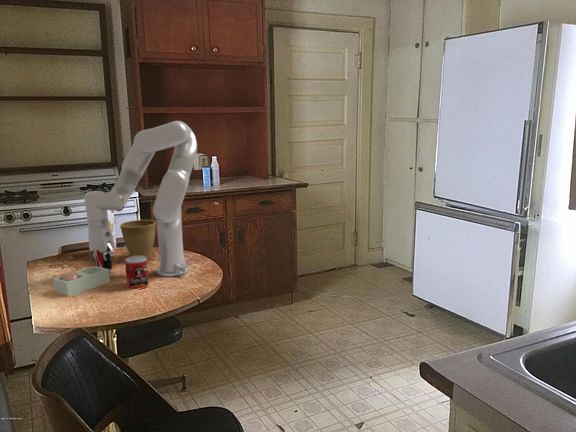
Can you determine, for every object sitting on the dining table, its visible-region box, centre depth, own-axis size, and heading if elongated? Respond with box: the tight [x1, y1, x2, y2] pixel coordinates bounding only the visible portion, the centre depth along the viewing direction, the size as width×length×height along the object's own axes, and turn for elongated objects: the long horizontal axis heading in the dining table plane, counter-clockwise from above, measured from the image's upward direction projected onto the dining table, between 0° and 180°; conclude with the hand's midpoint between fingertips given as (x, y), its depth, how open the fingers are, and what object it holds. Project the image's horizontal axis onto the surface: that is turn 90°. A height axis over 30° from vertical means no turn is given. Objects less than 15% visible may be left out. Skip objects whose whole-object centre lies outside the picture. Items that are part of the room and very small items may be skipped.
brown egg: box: [61, 271, 78, 281], centre depth 179 cm, size 5×5×6 cm
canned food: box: [124, 255, 150, 291], centre depth 183 cm, size 8×8×11 cm
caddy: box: [52, 265, 111, 297], centre depth 183 cm, size 8×17×6 cm, turn 146°
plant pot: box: [119, 219, 157, 260], centre depth 218 cm, size 15×15×16 cm
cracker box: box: [107, 210, 117, 252], centre depth 225 cm, size 14×6×21 cm, turn 179°
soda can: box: [94, 249, 112, 276], centre depth 196 cm, size 5×5×12 cm
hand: (104, 267), depth 197 cm, fingers closed on soda can, 4 cm apart
